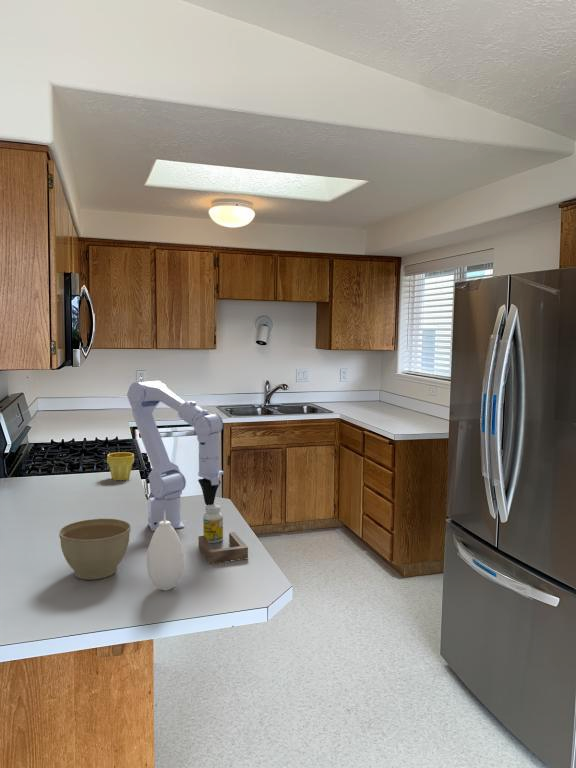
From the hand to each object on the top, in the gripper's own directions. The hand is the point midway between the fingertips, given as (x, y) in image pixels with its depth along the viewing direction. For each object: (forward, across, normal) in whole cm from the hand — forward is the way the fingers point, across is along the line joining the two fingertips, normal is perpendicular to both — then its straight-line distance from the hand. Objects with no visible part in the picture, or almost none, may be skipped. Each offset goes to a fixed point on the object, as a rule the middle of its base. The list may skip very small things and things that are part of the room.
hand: (209, 504), depth 165 cm
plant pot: (+9, +77, +17) cm, 79 cm away
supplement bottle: (+9, -4, 0) cm, 10 cm away
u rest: (+9, -14, 0) cm, 17 cm away
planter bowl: (+9, -16, +32) cm, 37 cm away
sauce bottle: (+9, -31, +18) cm, 37 cm away
